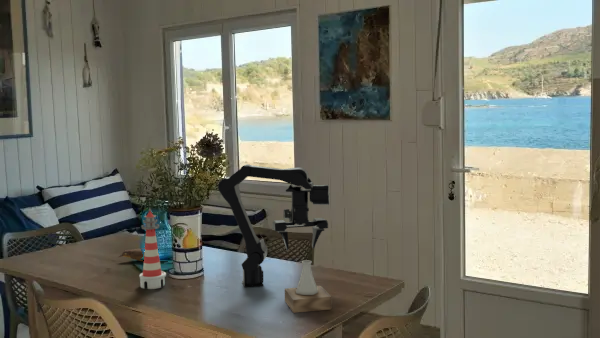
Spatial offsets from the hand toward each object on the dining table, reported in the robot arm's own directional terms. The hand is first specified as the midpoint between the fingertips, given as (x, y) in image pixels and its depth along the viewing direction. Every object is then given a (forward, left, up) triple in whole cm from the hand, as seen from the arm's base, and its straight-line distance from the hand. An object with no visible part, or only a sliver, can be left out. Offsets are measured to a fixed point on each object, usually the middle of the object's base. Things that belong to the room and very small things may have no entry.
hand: (300, 248), depth 214 cm
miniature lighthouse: (-50, +14, -13) cm, 54 cm away
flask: (-3, -21, -9) cm, 23 cm away
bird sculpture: (-51, +51, -13) cm, 73 cm away
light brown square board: (-3, -21, -13) cm, 25 cm away
